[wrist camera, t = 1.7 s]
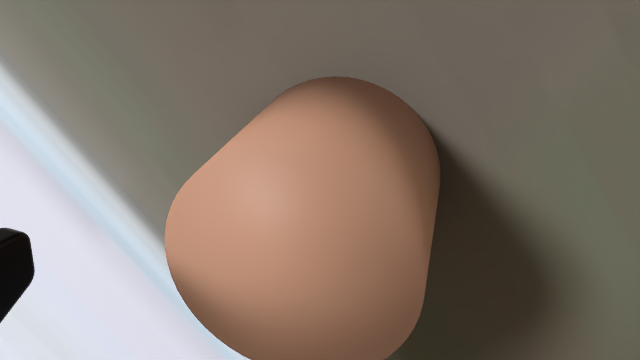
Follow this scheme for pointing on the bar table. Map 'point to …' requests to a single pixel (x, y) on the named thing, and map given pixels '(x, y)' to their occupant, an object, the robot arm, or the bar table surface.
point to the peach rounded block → (311, 226)
